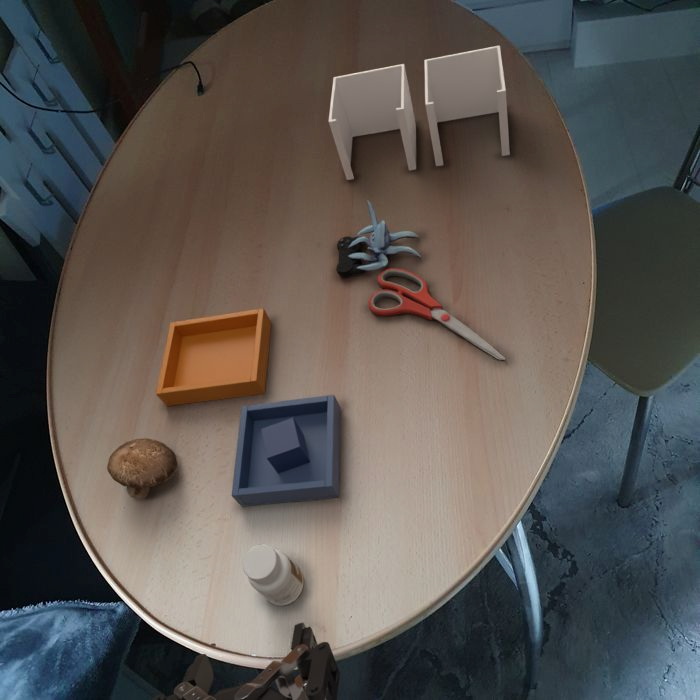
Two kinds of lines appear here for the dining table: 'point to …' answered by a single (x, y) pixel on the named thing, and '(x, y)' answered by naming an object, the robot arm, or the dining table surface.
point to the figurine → (378, 246)
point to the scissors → (423, 307)
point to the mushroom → (142, 465)
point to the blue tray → (297, 483)
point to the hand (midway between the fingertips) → (254, 648)
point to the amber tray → (215, 358)
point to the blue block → (285, 445)
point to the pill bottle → (273, 574)
